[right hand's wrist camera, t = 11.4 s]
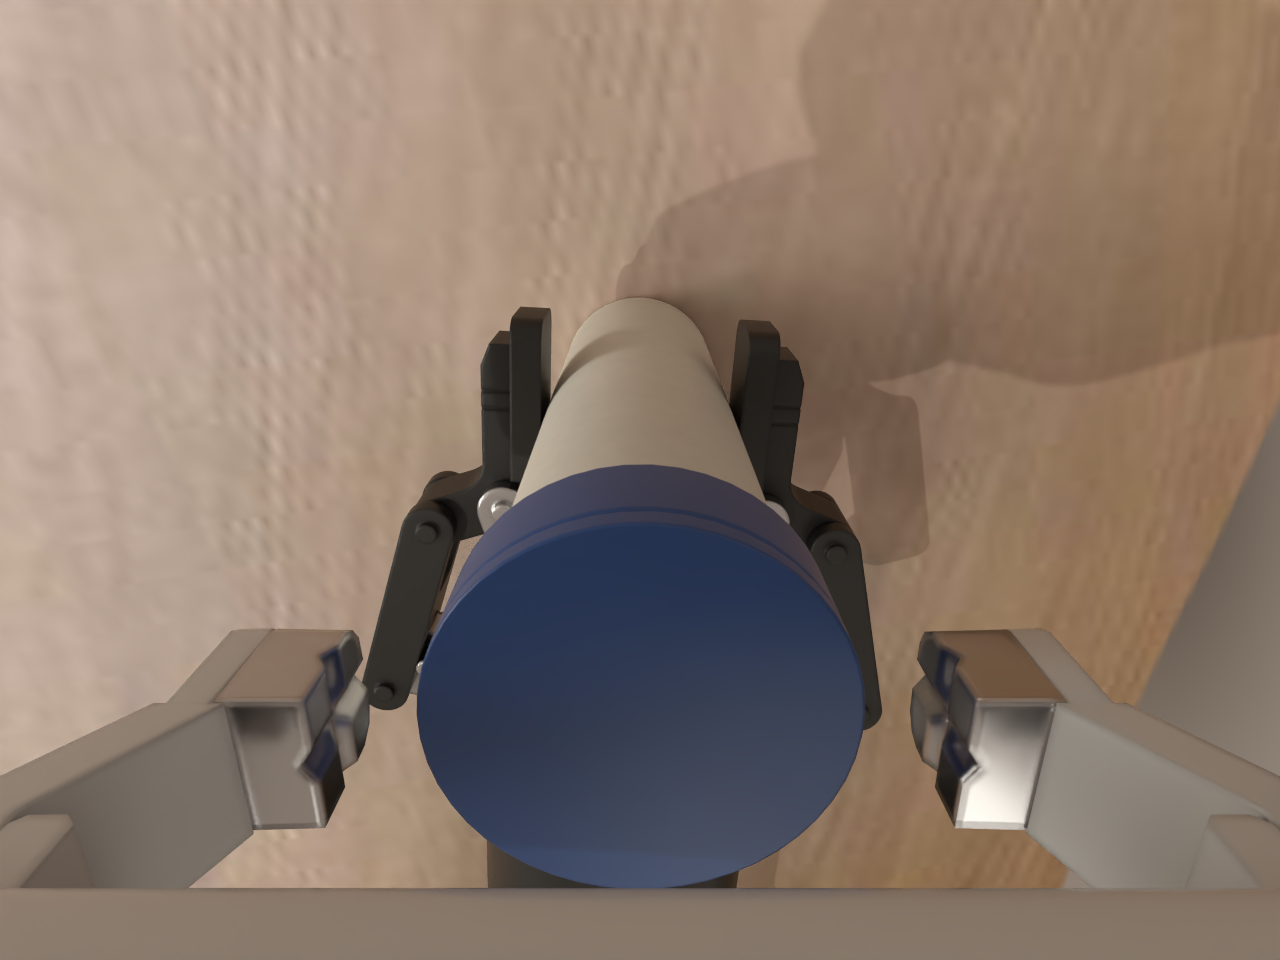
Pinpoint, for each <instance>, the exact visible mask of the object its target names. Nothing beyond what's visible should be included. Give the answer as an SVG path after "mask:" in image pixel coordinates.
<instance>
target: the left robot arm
mask: <svg viewBox="0 0 1280 960" xmlns="http://www.w3.org/2000/svg"><path fill="white" fill-rule="evenodd" d="M803 388H804V381H803V377H802V373H801V369H800V366H799V362H798V360H797V359H796V358H795V356H794V355H793V354H792V353H791V351H790V350H789V349H788V348H787V347H780V335H779V332H778V331H777V330H776V328H775V327H774V326H773V325H772V324H771V322H770V321H755V320H740V321H739V324H738V328H737V335H736V345H735V354H734V364H733V374H732V383H731V393H730V403H729V406H730V409H731V411H732V414H733V417H734V419H735V422H736V425H737V427H738V430H739V432H740V435H741V438H742V440H743V443H744V446H745V448H746V451H747V453H748V456H749V459H750V461H751V464H752V466H753V469H754V472H755V474H756V477H757V480H758V482H759V485H760V487H761V490H762V493H763V495H764V498H765V501H766V503H767V506H769V507H770V508H772V509H773V510H774V511H775V512H776V513H777V514H778V515H779V516H781V517H782V518H783V519H784V520H785V521H786V522H787V523H788V524H789V525H790V526H791V527H792V528H793V529H794V531H795V532H796V533H797V535H798V536H799V537H800V538H801V540H802V541H803V542H804V543H805V545H806V546H807V548H808V550H809V551H810V553H811V555H812V557H813V558H814V560H815V562H816V564H817V565H818V567H819V570H820V572H821V574H822V576H823V579H824V581H825V583H826V585H827V587H828V590H829V592H830V594H831V596H832V599H833V601H834V603H835V605H836V607H837V610H838V612H839V614H840V616H841V619H842V621H843V623H844V625H845V628H846V630H847V632H848V634H849V636H850V639H851V641H852V644H853V647H854V649H855V652H856V654H857V657H858V660H859V663H860V668H861V673H862V677H863V682H864V692H865V716H864V725H863V730H866V729H869V728H871V727H872V726H874V725H875V724H876V723H877V722H878V721H879V719H880V717H881V714H882V706H881V698H880V691H879V683H878V676H877V668H876V660H875V653H874V645H873V637H872V630H871V622H870V615H869V607H868V599H867V592H866V584H865V576H864V569H863V561H862V554H861V547H860V544H859V541H858V540H857V538H856V536H855V534H854V533H853V531H852V529H851V528H850V526H849V524H848V523H847V521H846V519H845V517H844V516H843V514H842V512H841V511H840V509H839V507H838V505H837V504H836V502H835V500H834V499H833V498H832V497H831V496H830V495H829V494H827V493H825V492H822V491H811V492H808V491H806V490H804V489H801V488H799V487H797V486H795V485H793V484H791V475H792V468H793V460H794V453H795V446H796V439H797V432H798V423H799V417H800V407H801V403H802V395H803ZM481 389H482V392H481V406H482V453H483V465H482V466H480V467H478V468H476V469H474V470H471V471H467V472H464V473H460V474H459V473H456V472H452V471H443V472H440V473H438V474H436V475H434V476H433V477H432V478H431V479H430V481H429V482H428V484H427V486H426V487H425V489H424V492H423V495H422V497H421V498H420V500H419V501H418V503H417V504H416V505H415V506H414V507H413V508H412V509H411V510H410V512H409V513H408V515H407V516H406V518H405V519H404V521H403V524H402V527H401V531H400V535H399V539H398V543H397V547H396V551H395V555H394V559H393V563H392V567H391V571H390V575H389V579H388V582H387V586H386V590H385V594H384V598H383V602H382V606H381V610H380V614H379V618H378V622H377V626H376V630H375V634H374V638H373V642H372V646H371V649H370V653H369V657H368V661H367V665H366V669H365V673H364V677H363V681H362V683H363V684H364V685H365V686H366V687H367V690H368V697H369V704H370V705H372V706H373V707H376V708H378V709H382V710H393V709H397V708H399V707H401V706H402V705H403V704H404V703H405V702H406V700H407V698H408V696H409V693H411V694H415V695H417V689H418V684H419V678H420V673H421V667H422V664H423V661H424V658H425V655H426V653H427V650H428V647H429V644H430V642H431V639H432V637H433V635H434V632H435V630H436V628H437V626H438V623H439V621H440V618H441V616H442V614H443V612H440V610H441V606H442V603H443V599H444V596H445V592H446V589H447V585H448V582H449V578H450V575H451V571H452V568H453V564H454V561H455V557H456V554H457V550H458V547H459V543H460V541H461V540H464V539H468V538H471V537H475V536H478V535H482V534H484V533H485V532H486V531H487V530H488V529H489V528H490V527H491V526H492V525H493V524H494V523H495V522H496V521H497V520H498V519H499V518H500V517H501V516H502V515H503V514H504V513H505V512H506V511H508V510H509V509H510V508H512V505H513V503H514V500H515V497H516V494H517V492H518V489H519V486H520V483H521V481H522V478H523V475H524V472H525V470H526V467H527V464H528V461H529V459H530V456H531V453H532V450H533V448H534V445H535V442H536V440H537V437H538V434H539V431H540V429H541V426H542V423H543V420H544V418H545V415H546V412H547V409H548V407H549V404H550V396H551V310H550V308H535V307H520V308H519V309H518V310H517V312H516V313H515V314H514V315H513V317H512V319H511V324H510V331H499V332H498V333H497V335H496V336H495V337H494V338H493V339H492V341H491V342H490V343H489V345H488V348H487V350H486V353H485V355H484V358H483V360H482V363H481ZM487 867H488V888H611V887H601V886H596V885H591V884H585V883H580V882H576V881H572V880H569V879H565V878H562V877H558V876H555V875H552V874H549V873H547V872H545V871H542V870H540V869H537V868H535V867H532V866H530V865H528V864H526V863H524V862H522V861H520V860H518V859H516V858H515V857H513V856H511V855H509V854H507V853H506V852H504V851H503V850H501V849H500V848H498V847H497V846H495V845H494V844H493V843H491V842H490V841H488V840H487ZM738 872H739V871H736V872H734V873H731V874H728V875H725V876H722V877H719V878H715V879H712V880H709V881H705V882H700V883H695V884H690V885H685V886H679V887H669V888H736V886H737V879H738Z"/></svg>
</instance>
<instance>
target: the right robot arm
mask: <svg viewBox="0 0 1280 960" xmlns="http://www.w3.org/2000/svg"><path fill="white" fill-rule="evenodd" d="M362 660H363V657H362V652H361V647H360V641H359V637H358V636H357V635H356V634H355V633H354V632H353V630H308V629H277V630H276V629H273V628H266V629H238V630H234V631H231V632H230V633H229V634H228V635H227V636H226V637H225V638H224V639H223V640H222V642H221V643H220V644H219V645H218V646H217V647H216V648H215V649H214V650H213V652H212V653H211V654H210V655H209V656H208V657H207V658H206V659H205V660H204V662H203V663H202V664H201V665H200V666H199V667H198V668H197V669H196V670H195V672H194V673H193V674H192V675H191V676H190V677H189V678H188V679H187V680H186V682H185V683H184V684H183V685H182V686H181V687H180V688H179V689H178V691H177V692H176V693H175V694H174V695H173V696H172V697H171V698H170V699H169V701H168V702H167V703H153V704H151V705H149V706H147V707H144V708H142V709H140V710H138V711H136V712H134V713H132V714H130V715H128V716H125V717H123V718H121V719H119V720H117V721H115V722H113V723H111V724H109V725H107V726H104V727H102V728H100V729H98V730H96V731H94V732H92V733H90V734H88V735H86V736H83V737H81V738H79V739H77V740H75V741H73V742H71V743H69V744H67V745H65V746H62V747H60V748H58V749H56V750H54V751H52V752H50V753H48V754H46V755H44V756H41V757H39V758H37V759H35V760H33V761H31V762H29V763H27V764H25V765H23V766H20V767H18V768H16V769H14V770H12V771H10V772H8V773H6V774H4V775H1V776H0V960H1280V776H1278V775H1276V774H1274V773H1272V772H1270V771H1268V770H1266V769H1263V768H1261V767H1259V766H1257V765H1255V764H1253V763H1251V762H1249V761H1247V760H1245V759H1242V758H1240V757H1238V756H1236V755H1234V754H1232V753H1230V752H1228V751H1226V750H1224V749H1221V748H1219V747H1217V746H1215V745H1213V744H1211V743H1209V742H1207V741H1205V740H1203V739H1201V738H1198V737H1196V736H1194V735H1192V734H1190V733H1188V732H1186V731H1184V730H1182V729H1180V728H1177V727H1175V726H1173V725H1171V724H1169V723H1167V722H1165V721H1163V720H1161V719H1159V718H1157V717H1154V716H1152V715H1150V714H1148V713H1146V712H1144V711H1142V710H1140V709H1138V708H1136V707H1133V706H1131V705H1129V704H1127V703H1113V702H1112V701H1111V699H1110V698H1109V697H1108V696H1107V695H1106V694H1105V693H1104V692H1103V691H1102V689H1101V688H1100V687H1099V686H1098V685H1097V684H1096V683H1095V682H1094V681H1093V679H1092V678H1091V677H1090V676H1089V675H1088V674H1087V673H1086V672H1085V670H1084V669H1083V668H1082V667H1081V666H1080V665H1079V664H1078V663H1077V662H1076V660H1075V659H1074V658H1073V657H1072V656H1071V655H1070V654H1069V653H1068V652H1067V650H1066V649H1065V648H1064V647H1063V646H1062V645H1061V644H1060V643H1059V642H1058V640H1057V639H1056V638H1055V637H1054V636H1053V635H1052V634H1051V633H1050V632H1049V631H1046V630H1044V629H1042V628H1029V629H1003V630H971V631H932V632H924V634H923V637H922V639H921V641H920V645H919V651H918V657H917V660H918V662H919V664H920V665H921V667H922V669H923V671H924V673H925V674H926V675H925V676H924V677H923V678H922V679H921V680H920V681H919V682H918V683H917V684H916V685H915V686H914V687H913V690H912V699H911V707H910V714H911V727H912V734H913V737H914V741H915V745H916V748H917V750H918V752H919V754H920V757H921V759H922V761H923V762H924V763H926V764H927V765H929V766H930V767H932V768H933V769H935V770H936V771H937V778H936V784H935V788H936V790H937V792H938V794H939V796H940V798H941V800H942V802H943V805H944V807H945V809H946V811H947V813H948V815H949V817H950V819H951V821H952V823H953V825H954V827H955V828H973V829H1009V830H1027V832H1026V833H1027V834H1028V835H1029V836H1030V837H1031V838H1033V839H1034V840H1035V841H1036V842H1037V843H1039V844H1040V845H1041V846H1042V847H1043V848H1045V849H1046V850H1047V851H1048V852H1050V853H1051V854H1052V855H1053V856H1054V857H1056V858H1057V859H1058V860H1059V861H1060V862H1062V863H1063V864H1064V865H1065V866H1066V867H1068V868H1069V869H1070V870H1071V871H1072V872H1074V873H1075V874H1076V875H1077V876H1078V877H1080V878H1081V879H1082V880H1083V881H1084V882H1086V883H1087V884H1088V885H1089V886H1091V887H1092V888H189V887H190V886H191V885H192V884H193V883H195V882H196V881H197V880H198V879H199V878H201V877H202V876H203V875H204V874H205V873H207V872H208V871H209V870H210V869H211V868H213V867H214V866H215V865H216V864H218V863H219V862H220V861H221V860H222V859H224V858H225V857H226V856H227V855H228V854H230V853H231V852H232V851H233V850H234V849H236V848H237V847H238V846H239V845H241V844H242V843H243V842H244V841H245V840H247V839H248V838H249V837H250V836H251V835H253V830H270V829H305V828H325V827H326V825H327V823H328V821H329V819H330V817H331V815H332V813H333V811H334V809H335V807H336V805H337V803H338V800H339V798H340V796H341V794H342V792H343V790H344V788H345V784H344V778H343V771H344V770H345V769H347V768H348V767H350V766H351V765H353V764H354V763H356V762H357V761H358V759H359V756H360V754H361V752H362V750H363V748H364V745H365V741H366V736H367V732H368V727H369V705H370V704H369V697H368V690H367V687H366V686H365V685H364V684H363V683H362V682H361V681H360V680H359V679H358V678H357V677H356V676H355V675H354V674H355V673H356V671H357V669H358V667H359V665H360V664H361V662H362Z"/></svg>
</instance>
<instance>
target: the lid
mask: <svg viewBox="0 0 1280 960" xmlns="http://www.w3.org/2000/svg"><path fill="white" fill-rule="evenodd" d="M864 716H865V692H864V682H863V677H862V673H861V668H860V663H859V660H858V657H857V654H856V652H855V649H854V647H853V644H852V641H851V639H850V636H849V634H848V632H847V630H846V628H845V625H844V623H843V621H842V619H841V616H840V614H839V612H838V610H837V607H836V605H835V603H834V601H833V599H832V596H831V594H830V592H829V590H828V587H827V585H826V583H825V581H824V579H823V576H822V574H821V572H820V570H819V567H818V565H817V564H816V562H815V560H814V558H813V557H812V555H811V553H810V551H809V550H808V548H807V546H806V545H805V543H804V542H803V541H802V540H801V538H800V537H799V536H798V535H797V533H796V532H795V531H794V529H793V528H792V527H791V526H790V525H789V524H788V523H787V522H786V521H785V520H784V519H783V518H782V517H781V516H779V515H778V514H777V513H776V512H775V511H774V510H773V509H772V508H770V507H769V506H767V505H766V504H765V503H763V502H762V501H760V500H759V499H758V498H756V497H755V496H754V495H752V494H750V493H748V492H746V491H744V490H742V489H740V488H739V487H737V486H735V485H733V484H731V483H729V482H726V481H723V480H721V479H718V478H715V477H713V476H710V475H708V474H705V473H700V472H696V471H692V470H688V469H684V468H680V467H671V466H662V465H653V464H643V465H619V466H611V467H604V468H597V469H593V470H589V471H586V472H582V473H578V474H574V475H571V476H568V477H566V478H563V479H561V480H558V481H556V482H553V483H551V484H548V485H546V486H544V487H543V488H541V489H539V490H537V491H536V492H534V493H532V494H530V495H528V496H527V497H525V498H523V499H522V500H521V501H519V502H518V503H517V504H515V505H514V506H513V507H512V508H510V509H509V510H508V511H506V512H505V513H504V514H503V515H502V516H501V517H500V518H499V519H498V520H497V521H496V522H495V523H494V524H493V525H492V526H491V527H490V528H489V529H488V530H487V531H486V532H485V533H484V535H483V536H482V537H481V539H480V540H479V541H478V543H477V544H476V545H475V547H474V548H473V549H472V551H471V553H470V555H469V557H468V559H467V561H466V562H465V564H464V566H463V568H462V570H461V572H460V574H459V577H458V579H457V581H456V584H455V586H454V588H453V591H452V593H451V595H450V598H449V600H448V602H447V605H446V607H445V609H444V611H443V614H442V616H441V618H440V621H439V623H438V626H437V628H436V630H435V632H434V635H433V637H432V639H431V642H430V644H429V647H428V650H427V653H426V655H425V658H424V661H423V664H422V667H421V673H420V678H419V684H418V689H417V720H418V727H419V734H420V740H421V743H422V746H423V750H424V753H425V756H426V759H427V763H428V765H429V767H430V769H431V771H432V773H433V775H434V777H435V779H436V781H437V784H438V785H439V787H440V788H441V790H442V791H443V793H444V794H445V796H446V797H447V799H448V800H449V802H450V803H451V805H452V806H453V807H454V808H455V809H456V810H457V811H458V813H459V814H460V815H461V816H462V817H463V818H464V819H465V820H466V822H467V823H468V824H470V825H471V826H472V827H473V828H474V829H475V830H476V831H477V832H479V833H480V834H481V835H482V836H483V837H484V838H485V839H487V840H488V841H490V842H491V843H493V844H494V845H495V846H497V847H498V848H500V849H501V850H503V851H504V852H506V853H507V854H509V855H511V856H513V857H515V858H516V859H518V860H520V861H522V862H524V863H526V864H528V865H530V866H532V867H535V868H537V869H540V870H542V871H545V872H547V873H549V874H552V875H555V876H558V877H562V878H565V879H569V880H572V881H576V882H580V883H585V884H591V885H596V886H601V887H611V888H669V887H679V886H685V885H690V884H695V883H700V882H705V881H709V880H712V879H715V878H719V877H722V876H725V875H728V874H731V873H734V872H736V871H739V870H741V869H743V868H746V867H748V866H750V865H753V864H755V863H757V862H759V861H761V860H762V859H764V858H766V857H768V856H770V855H771V854H773V853H775V852H777V851H778V850H780V849H781V848H783V847H784V846H785V845H787V844H788V843H790V842H791V841H792V840H794V839H795V838H796V837H798V836H799V835H800V834H801V833H802V832H804V831H805V830H806V829H807V828H808V827H809V826H810V825H811V824H812V823H813V822H814V821H815V820H817V819H818V817H819V816H820V815H821V814H822V813H823V811H824V810H825V809H826V808H827V807H828V806H829V804H830V803H831V802H832V801H833V799H834V798H835V796H836V795H837V793H838V792H839V790H840V788H841V787H842V785H843V784H844V782H845V780H846V778H847V776H848V774H849V772H850V770H851V767H852V765H853V763H854V761H855V759H856V755H857V752H858V748H859V744H860V741H861V737H862V733H863V725H864Z"/></svg>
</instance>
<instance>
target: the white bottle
mask: <svg viewBox="0 0 1280 960" xmlns="http://www.w3.org/2000/svg"><path fill="white" fill-rule="evenodd" d="M643 464H653V465H662V466H671V467H680V468H684V469H688V470H692V471H696V472H700V473H705V474H708V475H710V476H713V477H715V478H718V479H721V480H723V481H726V482H729V483H731V484H733V485H735V486H737V487H739V488H740V489H742V490H744V491H746V492H748V493H750V494H752V495H754V496H755V497H756V498H758V499H759V500H760V501H762V502H763V503H765V504H766V505H767V503H766V501H765V498H764V495H763V493H762V490H761V487H760V485H759V482H758V480H757V477H756V474H755V472H754V469H753V466H752V464H751V461H750V459H749V456H748V453H747V451H746V448H745V446H744V443H743V440H742V438H741V435H740V432H739V430H738V427H737V425H736V422H735V419H734V417H733V414H732V411H731V409H730V406H729V404H728V401H727V398H726V396H725V393H724V390H723V388H722V385H721V383H720V380H719V377H718V375H717V372H716V369H715V367H714V364H713V362H712V359H711V356H710V354H709V351H708V348H707V346H706V343H705V341H704V338H703V336H702V335H701V333H700V331H699V329H698V328H697V327H696V325H695V324H694V323H693V322H692V321H691V320H690V319H689V318H688V316H687V315H685V314H684V313H683V312H681V311H680V310H679V309H677V308H675V307H674V306H672V305H670V304H667V303H665V302H663V301H659V300H655V299H651V298H643V297H640V298H627V299H621V300H618V301H614V302H612V303H610V304H607V305H605V306H603V307H602V308H600V309H599V310H597V311H596V312H594V313H593V314H592V315H591V316H589V318H588V319H587V320H586V321H585V322H584V323H583V324H582V325H581V327H580V328H579V330H578V331H577V333H576V335H575V337H574V338H573V341H572V344H571V346H570V349H569V352H568V354H567V357H566V360H565V363H564V365H563V368H562V371H561V374H560V376H559V379H558V382H557V385H556V387H555V390H554V393H553V396H552V398H551V401H550V404H549V407H548V409H547V412H546V415H545V418H544V420H543V423H542V426H541V429H540V431H539V434H538V437H537V440H536V442H535V445H534V448H533V450H532V453H531V456H530V459H529V461H528V464H527V467H526V470H525V472H524V475H523V478H522V481H521V483H520V486H519V489H518V492H517V494H516V497H515V500H514V503H513V505H512V507H513V506H514V505H515V504H517V503H518V502H519V501H521V500H522V499H523V498H525V497H527V496H528V495H530V494H532V493H534V492H536V491H537V490H539V489H541V488H543V487H544V486H546V485H548V484H551V483H553V482H556V481H558V480H561V479H563V478H566V477H568V476H571V475H574V474H578V473H582V472H586V471H589V470H593V469H597V468H604V467H611V466H619V465H643Z"/></svg>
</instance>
